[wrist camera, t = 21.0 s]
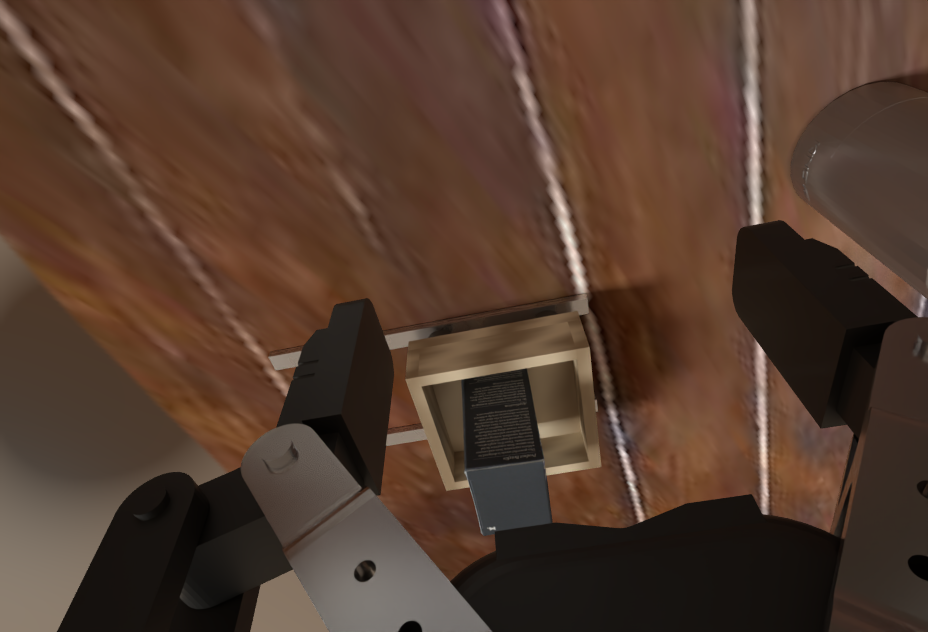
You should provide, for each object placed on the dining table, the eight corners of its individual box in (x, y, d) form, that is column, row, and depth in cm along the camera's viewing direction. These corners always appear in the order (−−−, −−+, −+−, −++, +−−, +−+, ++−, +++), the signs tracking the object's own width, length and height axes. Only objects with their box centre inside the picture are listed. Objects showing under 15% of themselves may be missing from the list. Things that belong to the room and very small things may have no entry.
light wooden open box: (574, 300, 45) (589, 346, 40) (586, 416, 54) (601, 467, 49) (409, 330, 47) (405, 379, 42) (446, 438, 55) (446, 490, 50)
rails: (585, 293, 46) (587, 298, 46) (596, 406, 54) (597, 411, 53) (270, 351, 49) (268, 356, 48) (324, 450, 57) (323, 456, 56)
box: (535, 424, 50) (553, 528, 42) (473, 432, 51) (479, 537, 42) (527, 359, 46) (545, 462, 37) (459, 368, 46) (462, 472, 37)
